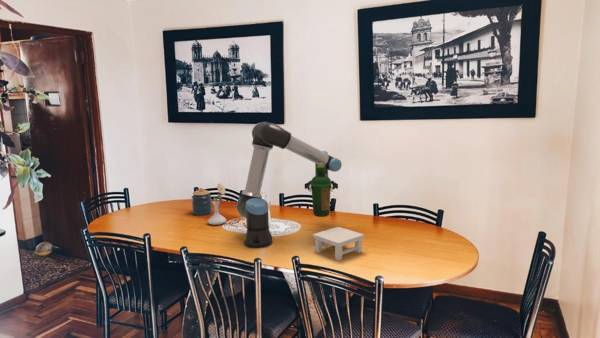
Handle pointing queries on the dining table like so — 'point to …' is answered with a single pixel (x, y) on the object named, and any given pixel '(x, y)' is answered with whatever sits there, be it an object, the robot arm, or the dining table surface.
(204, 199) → the canister
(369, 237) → the dining table surface
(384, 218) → the dining table surface
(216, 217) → the flower in vase
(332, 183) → the robot arm
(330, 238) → the stool
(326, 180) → the bottle
